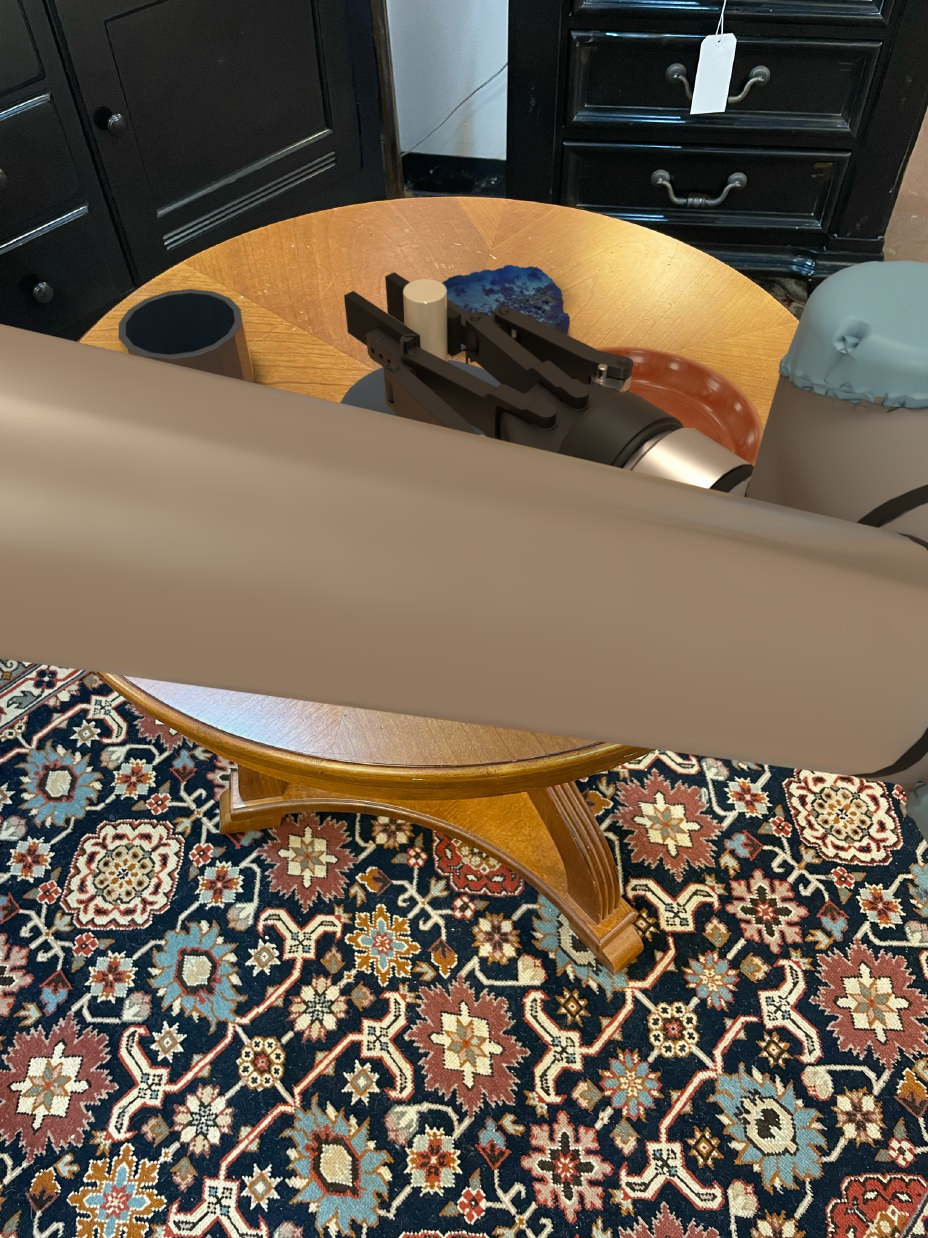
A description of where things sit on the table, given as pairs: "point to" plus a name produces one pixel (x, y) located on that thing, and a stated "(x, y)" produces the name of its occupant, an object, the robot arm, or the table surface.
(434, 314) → the lid
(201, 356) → the pot
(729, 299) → the table surface
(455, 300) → the rock
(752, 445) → the saucer
